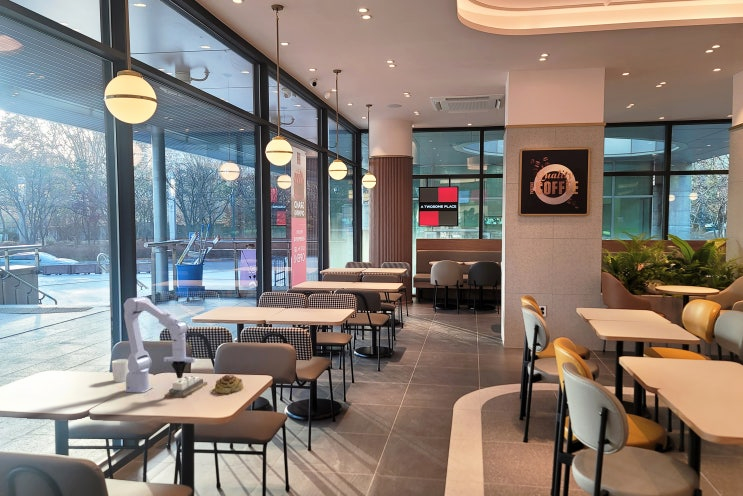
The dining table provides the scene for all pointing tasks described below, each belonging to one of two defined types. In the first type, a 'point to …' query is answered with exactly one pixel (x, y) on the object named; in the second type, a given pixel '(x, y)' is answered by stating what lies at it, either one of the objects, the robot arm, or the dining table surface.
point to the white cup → (120, 370)
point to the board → (186, 390)
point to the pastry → (228, 385)
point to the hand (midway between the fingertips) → (179, 377)
